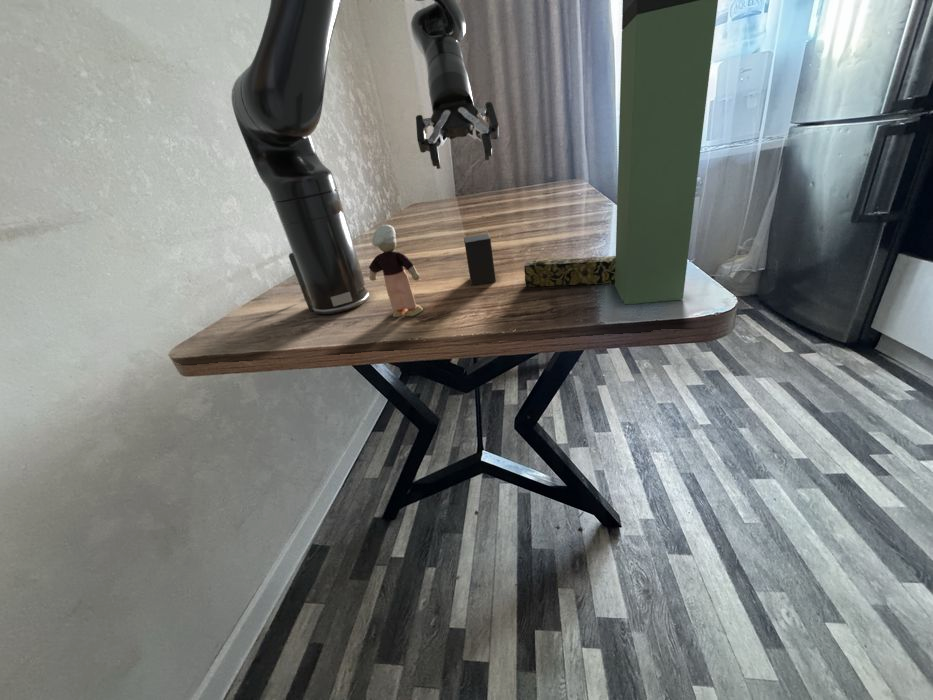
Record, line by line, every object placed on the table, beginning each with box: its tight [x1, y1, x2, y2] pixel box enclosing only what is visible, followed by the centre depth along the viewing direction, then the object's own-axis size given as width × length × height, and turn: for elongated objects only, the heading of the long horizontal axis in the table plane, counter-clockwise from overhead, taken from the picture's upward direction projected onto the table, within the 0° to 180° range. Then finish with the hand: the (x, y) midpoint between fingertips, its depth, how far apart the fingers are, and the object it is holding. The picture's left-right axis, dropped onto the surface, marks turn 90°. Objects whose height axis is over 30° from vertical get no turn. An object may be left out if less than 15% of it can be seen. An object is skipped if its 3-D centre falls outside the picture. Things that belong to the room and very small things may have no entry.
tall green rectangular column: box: [614, 0, 719, 305], centre depth 42 cm, size 7×7×32 cm
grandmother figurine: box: [368, 224, 424, 318], centre depth 54 cm, size 8×4×13 cm, turn 84°
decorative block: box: [523, 255, 616, 288], centre depth 55 cm, size 15×2×4 cm, turn 72°
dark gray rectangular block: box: [463, 233, 497, 287], centre depth 63 cm, size 4×4×7 cm
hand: (462, 161), depth 66 cm, fingers open, 8 cm apart
